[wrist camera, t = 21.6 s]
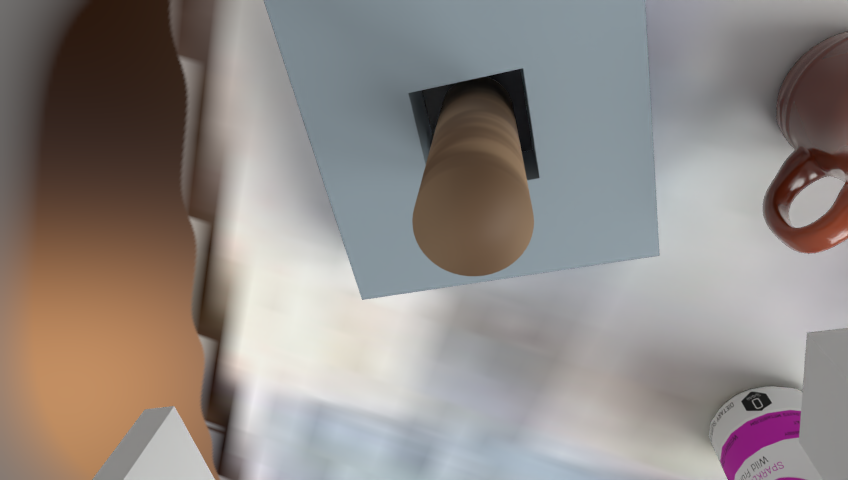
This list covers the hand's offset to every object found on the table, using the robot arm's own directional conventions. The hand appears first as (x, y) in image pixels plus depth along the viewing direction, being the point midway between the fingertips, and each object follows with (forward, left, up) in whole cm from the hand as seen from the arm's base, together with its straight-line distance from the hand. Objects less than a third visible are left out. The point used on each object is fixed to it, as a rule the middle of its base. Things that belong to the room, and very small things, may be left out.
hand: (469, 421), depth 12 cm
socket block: (0, 0, -26) cm, 26 cm away
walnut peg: (0, 0, -26) cm, 26 cm away
